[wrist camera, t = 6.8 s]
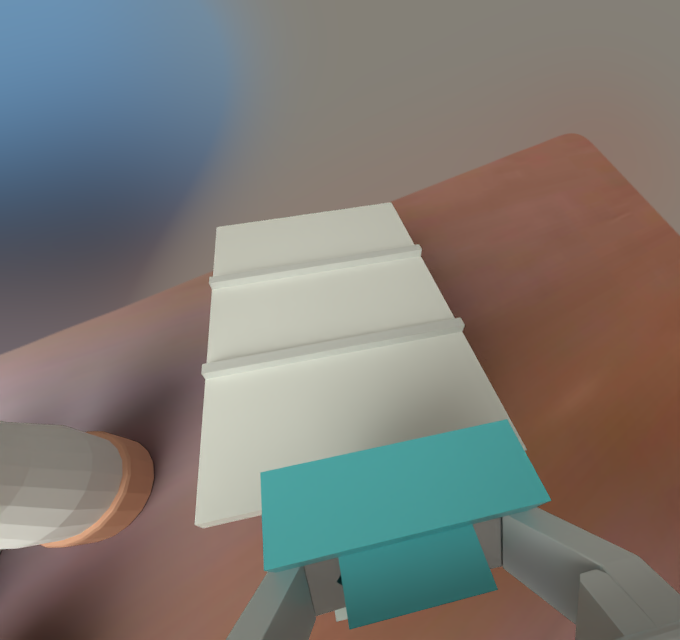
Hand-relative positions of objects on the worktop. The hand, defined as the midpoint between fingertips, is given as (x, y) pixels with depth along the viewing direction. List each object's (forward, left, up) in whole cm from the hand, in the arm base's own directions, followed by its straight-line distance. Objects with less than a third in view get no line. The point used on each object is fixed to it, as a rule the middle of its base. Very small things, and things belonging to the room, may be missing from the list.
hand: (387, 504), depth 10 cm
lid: (+3, -8, -7) cm, 12 cm away
